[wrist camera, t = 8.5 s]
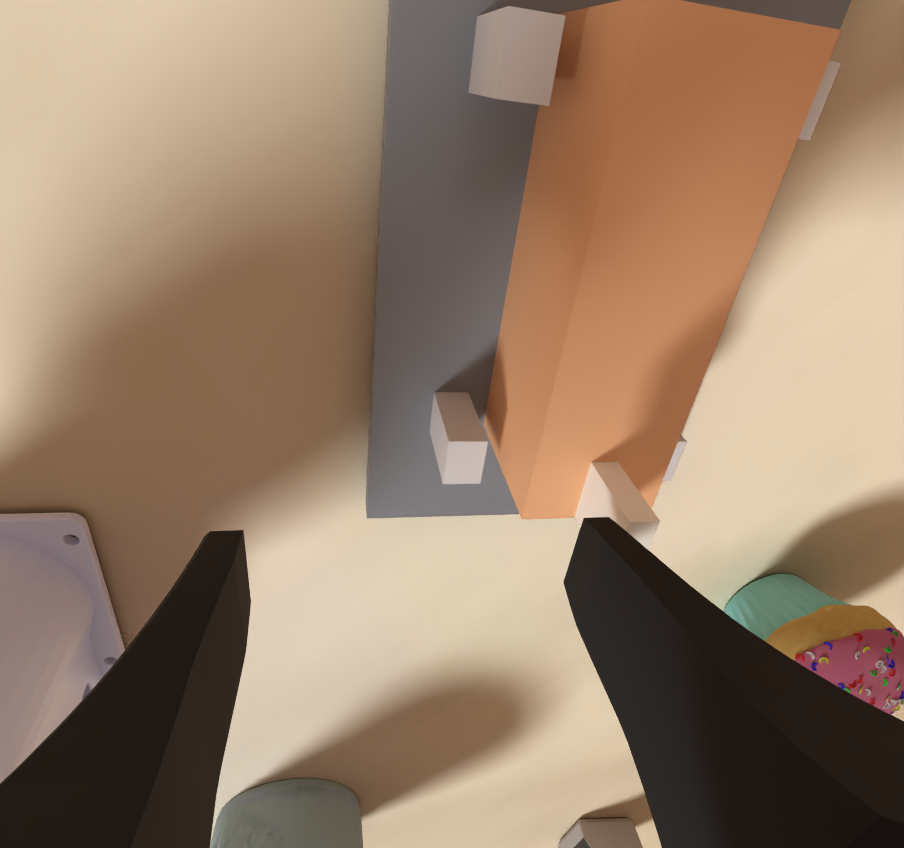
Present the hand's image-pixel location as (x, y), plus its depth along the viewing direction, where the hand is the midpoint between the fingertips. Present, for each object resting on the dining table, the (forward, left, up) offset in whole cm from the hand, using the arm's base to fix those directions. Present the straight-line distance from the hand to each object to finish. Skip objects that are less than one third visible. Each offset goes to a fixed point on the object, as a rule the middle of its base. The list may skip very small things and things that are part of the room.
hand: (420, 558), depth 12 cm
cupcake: (-14, -21, -9) cm, 27 cm away
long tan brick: (+4, -5, -8) cm, 11 cm away
